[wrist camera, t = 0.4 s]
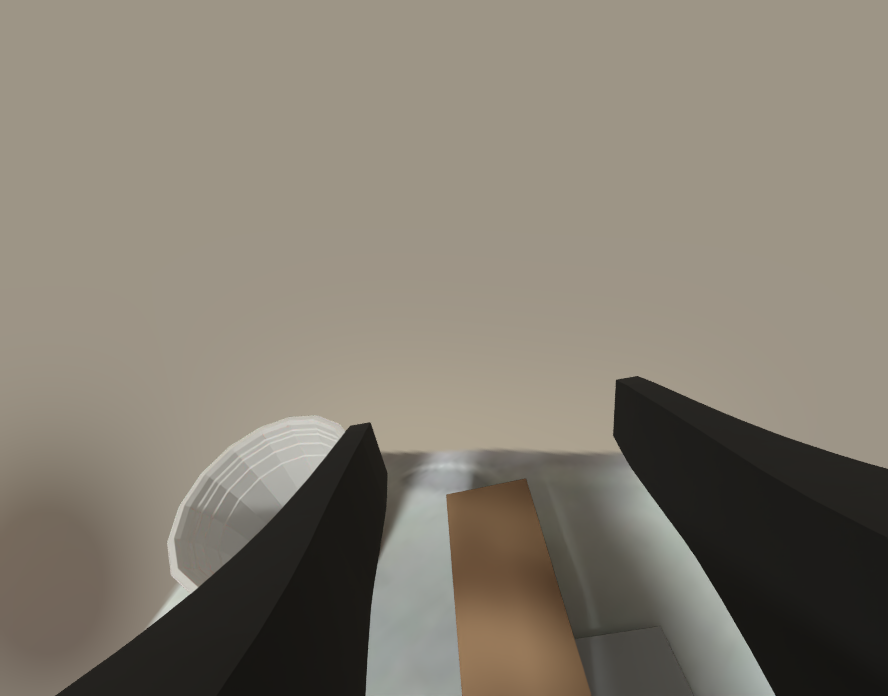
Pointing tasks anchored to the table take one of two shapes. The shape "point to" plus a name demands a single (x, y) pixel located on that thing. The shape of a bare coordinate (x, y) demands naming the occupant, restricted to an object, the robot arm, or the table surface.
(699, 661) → the table surface
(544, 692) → the wooden block
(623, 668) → the felt mat
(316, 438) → the plastic cup
